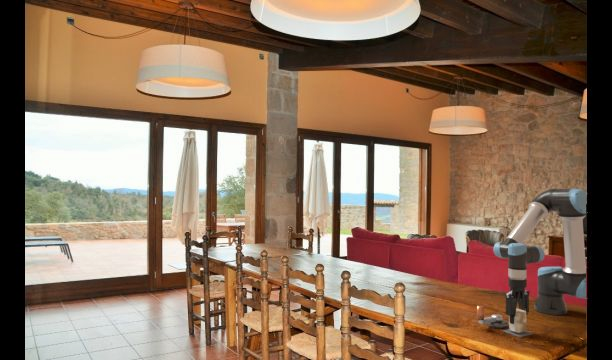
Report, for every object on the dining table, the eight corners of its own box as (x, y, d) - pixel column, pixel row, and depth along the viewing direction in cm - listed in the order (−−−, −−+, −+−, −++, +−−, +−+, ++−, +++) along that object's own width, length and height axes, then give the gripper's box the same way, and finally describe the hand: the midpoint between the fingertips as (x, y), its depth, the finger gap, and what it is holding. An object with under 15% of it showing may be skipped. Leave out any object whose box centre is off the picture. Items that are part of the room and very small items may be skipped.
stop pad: (515, 328, 205) (515, 327, 205) (533, 334, 197) (533, 333, 197) (502, 331, 201) (502, 330, 201) (519, 337, 193) (519, 336, 193)
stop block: (516, 328, 203) (516, 308, 203) (526, 331, 198) (526, 311, 198) (509, 329, 200) (508, 309, 200) (518, 333, 196) (518, 312, 196)
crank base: (495, 321, 215) (495, 317, 215) (511, 326, 207) (511, 322, 207) (482, 324, 211) (482, 320, 211) (498, 329, 203) (498, 325, 203)
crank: (496, 318, 212) (496, 301, 212) (505, 321, 208) (505, 304, 208) (473, 323, 206) (473, 305, 206) (482, 326, 201) (482, 308, 201)
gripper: (523, 274, 207) (523, 324, 207) (496, 278, 199) (496, 330, 198) (538, 277, 200) (538, 329, 200) (510, 281, 192) (511, 335, 192)
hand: (517, 329), depth 199 cm, fingers closed on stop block, 5 cm apart
